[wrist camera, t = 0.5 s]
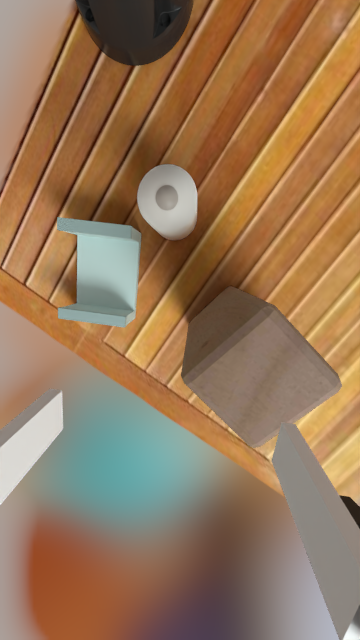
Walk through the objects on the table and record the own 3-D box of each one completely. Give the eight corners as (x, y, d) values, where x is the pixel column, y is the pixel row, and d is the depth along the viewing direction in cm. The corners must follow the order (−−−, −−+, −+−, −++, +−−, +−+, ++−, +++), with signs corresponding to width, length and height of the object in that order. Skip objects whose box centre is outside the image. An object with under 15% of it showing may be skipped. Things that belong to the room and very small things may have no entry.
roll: (154, 189, 33) (139, 160, 24) (200, 194, 33) (201, 166, 24) (150, 237, 35) (134, 226, 26) (193, 242, 35) (193, 233, 26)
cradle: (80, 226, 35) (57, 217, 30) (142, 233, 35) (131, 225, 29) (79, 310, 39) (58, 318, 33) (135, 318, 38) (124, 327, 32)
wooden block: (186, 323, 38) (175, 380, 18) (230, 282, 36) (270, 298, 16) (225, 363, 39) (254, 457, 19) (270, 326, 37) (353, 388, 17)
